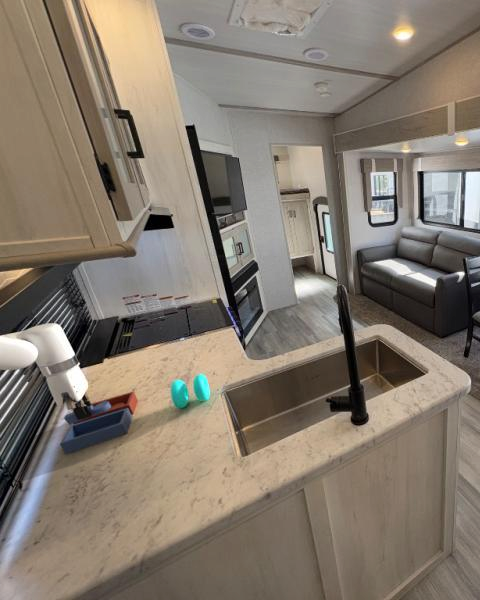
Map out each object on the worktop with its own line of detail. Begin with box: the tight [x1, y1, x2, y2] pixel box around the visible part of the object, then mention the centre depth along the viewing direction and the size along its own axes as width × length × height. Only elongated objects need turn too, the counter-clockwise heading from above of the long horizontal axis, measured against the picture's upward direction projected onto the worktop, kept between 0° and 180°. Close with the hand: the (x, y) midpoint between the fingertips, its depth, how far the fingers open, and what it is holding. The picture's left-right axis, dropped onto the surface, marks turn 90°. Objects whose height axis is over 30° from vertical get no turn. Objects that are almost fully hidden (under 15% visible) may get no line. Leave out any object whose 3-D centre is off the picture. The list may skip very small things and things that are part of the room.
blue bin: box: [59, 408, 133, 455], centre depth 99 cm, size 15×9×4 cm, turn 122°
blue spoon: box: [63, 401, 111, 426], centre depth 96 cm, size 10×4×3 cm, turn 122°
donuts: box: [170, 373, 211, 409], centre depth 111 cm, size 10×10×10 cm
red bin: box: [72, 390, 139, 425], centre depth 107 cm, size 15×9×4 cm, turn 122°
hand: (86, 414), depth 96 cm, fingers closed on blue spoon
